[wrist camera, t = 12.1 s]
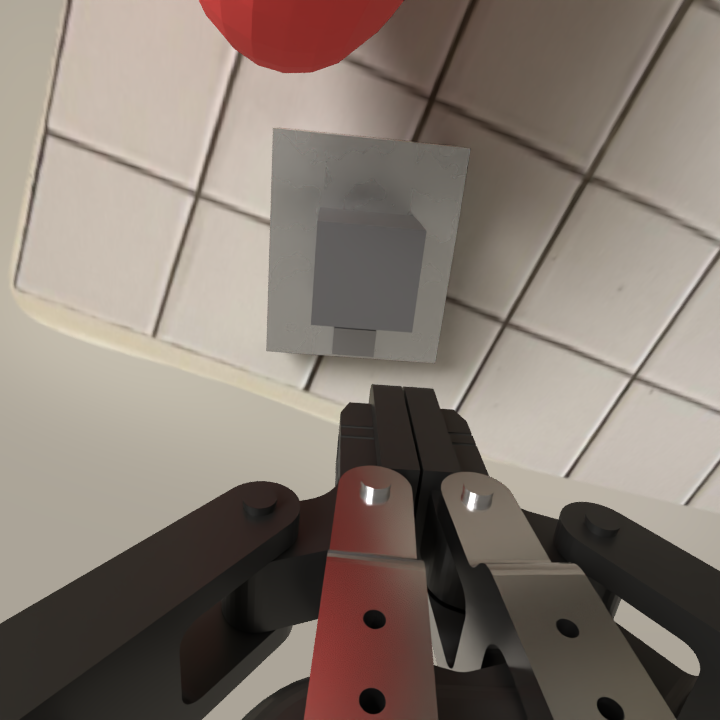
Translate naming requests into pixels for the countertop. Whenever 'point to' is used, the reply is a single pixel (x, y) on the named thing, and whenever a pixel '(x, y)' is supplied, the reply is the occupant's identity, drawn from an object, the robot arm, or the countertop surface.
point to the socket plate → (362, 193)
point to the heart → (298, 29)
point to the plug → (366, 270)
